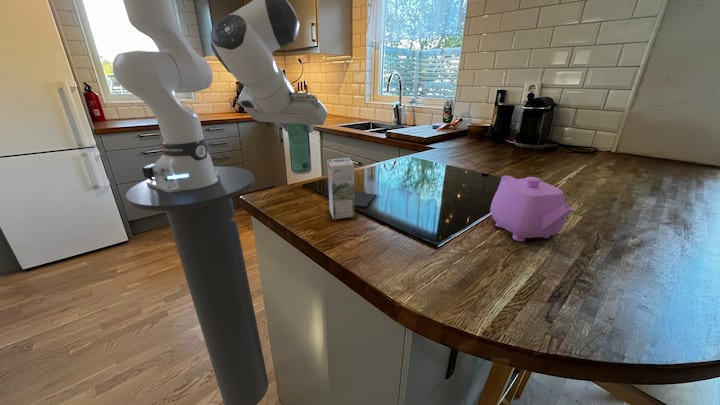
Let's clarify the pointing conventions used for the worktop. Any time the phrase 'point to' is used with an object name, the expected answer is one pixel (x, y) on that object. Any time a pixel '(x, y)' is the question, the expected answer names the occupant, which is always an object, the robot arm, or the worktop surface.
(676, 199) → the worktop surface
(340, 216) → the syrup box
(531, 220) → the teapot
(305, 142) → the spray can
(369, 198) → the coaster
